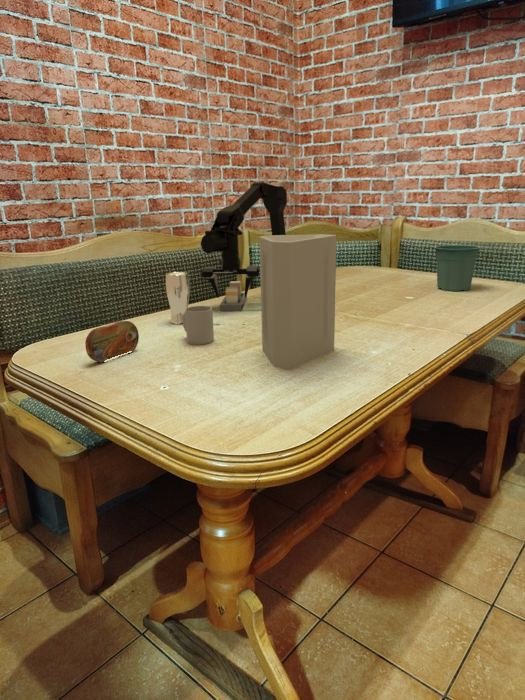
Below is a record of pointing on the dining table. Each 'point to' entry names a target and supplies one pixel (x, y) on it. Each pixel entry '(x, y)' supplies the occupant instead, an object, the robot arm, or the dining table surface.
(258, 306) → the tray
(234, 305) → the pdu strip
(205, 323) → the cup
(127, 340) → the tin
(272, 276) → the taupe rounded pillar
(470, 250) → the flower pot
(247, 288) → the robot arm
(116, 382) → the dining table surface
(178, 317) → the beer glass
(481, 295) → the dining table surface
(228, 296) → the plug
